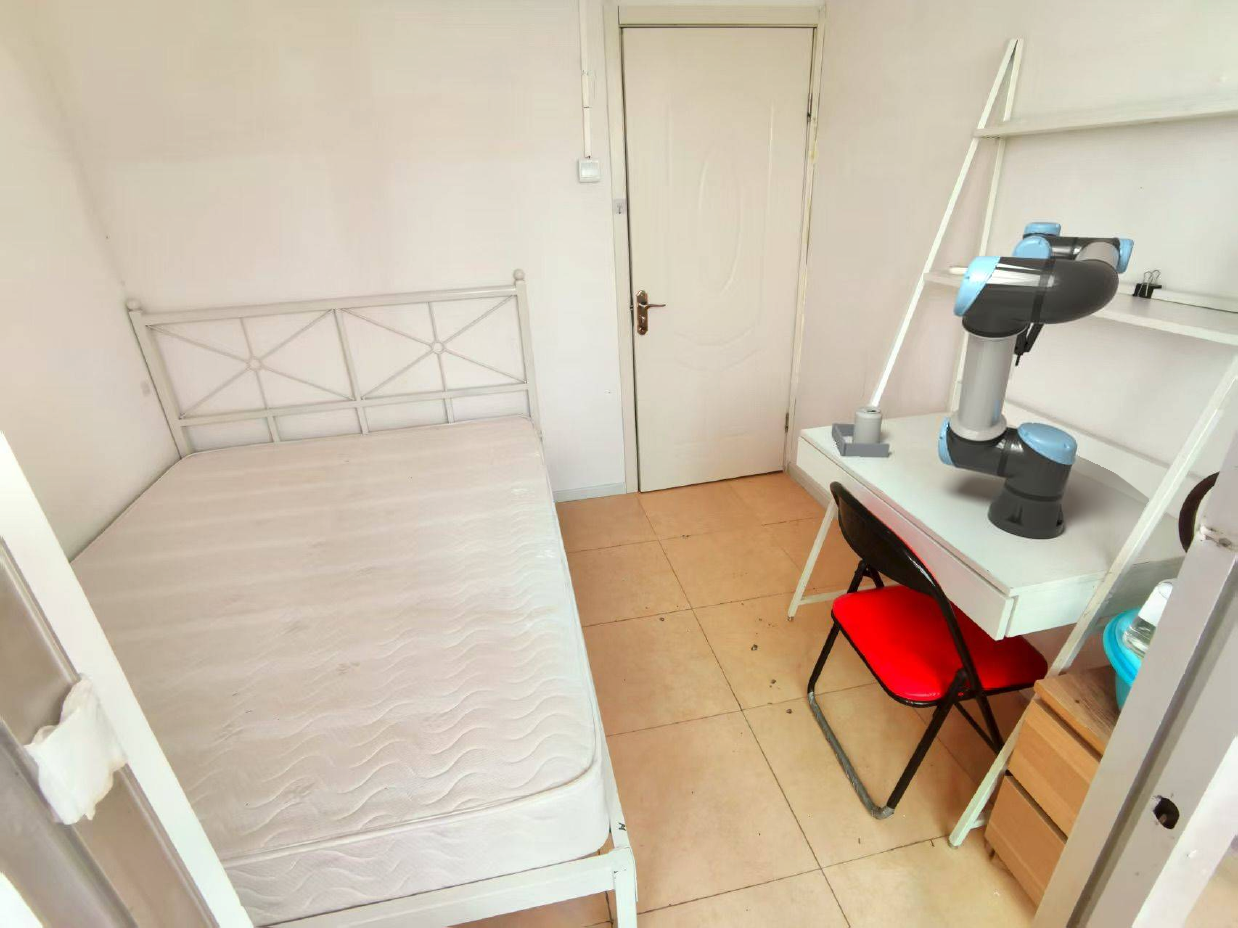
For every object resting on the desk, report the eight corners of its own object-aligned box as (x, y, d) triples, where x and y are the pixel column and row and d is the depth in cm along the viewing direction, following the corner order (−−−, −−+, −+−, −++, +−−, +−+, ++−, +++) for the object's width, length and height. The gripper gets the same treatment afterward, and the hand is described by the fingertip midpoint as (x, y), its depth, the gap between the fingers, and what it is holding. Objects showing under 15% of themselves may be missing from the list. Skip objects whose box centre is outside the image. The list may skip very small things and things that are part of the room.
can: (861, 451, 186) (866, 414, 181) (846, 442, 193) (851, 405, 188) (883, 448, 188) (888, 410, 183) (868, 439, 195) (873, 402, 190)
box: (887, 457, 182) (889, 444, 181) (841, 456, 184) (842, 444, 182) (874, 435, 197) (875, 424, 195) (831, 435, 198) (832, 423, 197)
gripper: (1048, 284, 161) (1025, 373, 171) (994, 285, 163) (975, 373, 173) (1063, 290, 154) (1039, 382, 165) (1007, 290, 156) (986, 381, 166)
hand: (1006, 377), depth 169 cm, fingers closed
